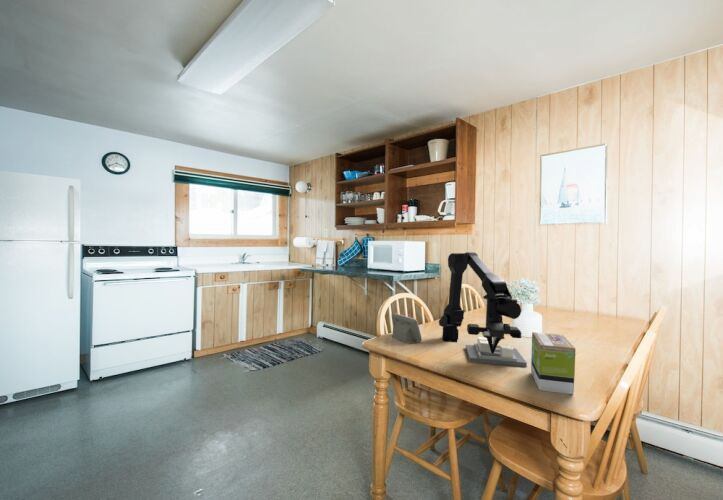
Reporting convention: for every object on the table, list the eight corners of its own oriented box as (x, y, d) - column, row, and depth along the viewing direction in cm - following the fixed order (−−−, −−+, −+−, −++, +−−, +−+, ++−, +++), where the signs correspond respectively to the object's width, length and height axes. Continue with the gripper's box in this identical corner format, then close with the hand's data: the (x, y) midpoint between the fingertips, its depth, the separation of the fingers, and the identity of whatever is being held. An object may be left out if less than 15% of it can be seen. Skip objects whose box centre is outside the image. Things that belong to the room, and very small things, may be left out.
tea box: (529, 372, 123) (531, 330, 122) (561, 376, 120) (563, 334, 119) (538, 390, 108) (540, 343, 108) (574, 395, 105) (577, 347, 105)
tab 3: (501, 359, 130) (502, 348, 130) (499, 355, 134) (500, 345, 134) (513, 360, 130) (513, 349, 130) (510, 356, 133) (511, 346, 133)
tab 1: (478, 349, 142) (478, 339, 141) (477, 346, 145) (477, 336, 145) (488, 349, 141) (489, 340, 141) (487, 347, 144) (487, 337, 144)
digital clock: (423, 342, 153) (424, 319, 153) (406, 345, 150) (406, 320, 149) (404, 333, 168) (404, 311, 168) (387, 334, 164) (388, 312, 164)
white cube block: (480, 353, 137) (480, 343, 137) (478, 350, 140) (479, 340, 140) (490, 354, 136) (491, 343, 136) (489, 351, 139) (489, 341, 139)
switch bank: (469, 361, 132) (470, 355, 131) (465, 348, 147) (465, 342, 147) (526, 366, 128) (526, 360, 128) (516, 352, 143) (516, 346, 143)
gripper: (471, 315, 126) (469, 358, 127) (526, 319, 123) (524, 363, 123) (467, 309, 137) (466, 348, 138) (518, 312, 133) (516, 352, 134)
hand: (492, 352), depth 133 cm, fingers closed
